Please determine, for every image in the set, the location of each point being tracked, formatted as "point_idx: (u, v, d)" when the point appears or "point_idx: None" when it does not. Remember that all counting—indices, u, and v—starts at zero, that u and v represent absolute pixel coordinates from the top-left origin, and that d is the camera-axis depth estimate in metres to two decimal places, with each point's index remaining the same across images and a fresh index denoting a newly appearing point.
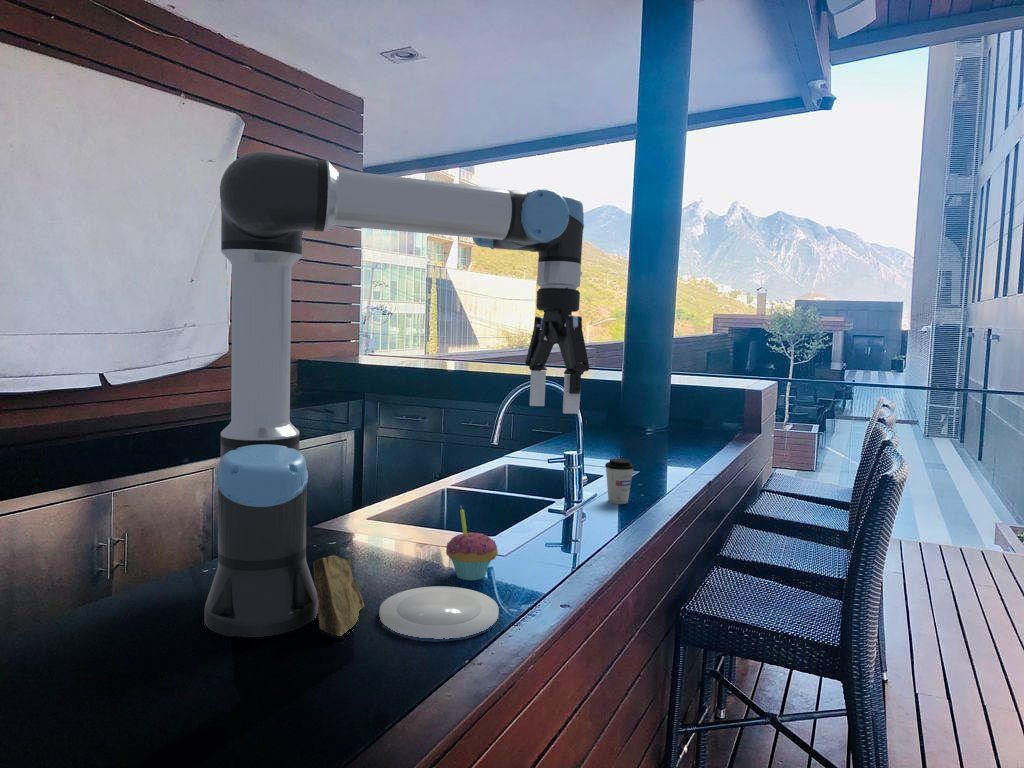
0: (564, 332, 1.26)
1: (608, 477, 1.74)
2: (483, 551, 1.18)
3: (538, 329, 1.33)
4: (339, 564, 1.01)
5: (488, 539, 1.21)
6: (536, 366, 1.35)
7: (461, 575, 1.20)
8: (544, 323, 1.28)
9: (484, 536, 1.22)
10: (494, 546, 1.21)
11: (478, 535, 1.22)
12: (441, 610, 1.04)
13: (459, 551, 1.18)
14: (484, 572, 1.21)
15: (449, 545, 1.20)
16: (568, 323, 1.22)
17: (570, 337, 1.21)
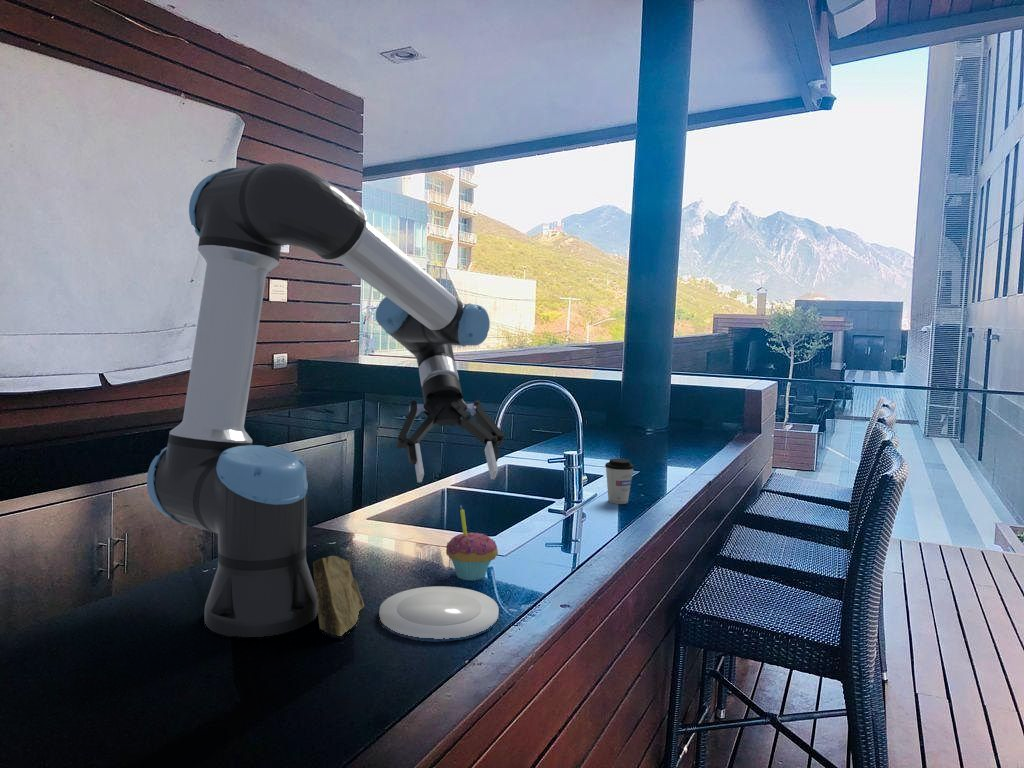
0: None
1: (608, 477, 1.74)
2: (483, 551, 1.18)
3: (416, 411, 1.37)
4: (339, 564, 1.01)
5: (488, 539, 1.21)
6: None
7: (461, 575, 1.20)
8: (442, 403, 1.38)
9: (484, 536, 1.22)
10: (494, 546, 1.21)
11: (478, 535, 1.22)
12: (441, 610, 1.04)
13: (459, 551, 1.18)
14: (484, 572, 1.21)
15: (449, 545, 1.20)
16: (480, 406, 1.41)
17: (487, 415, 1.40)
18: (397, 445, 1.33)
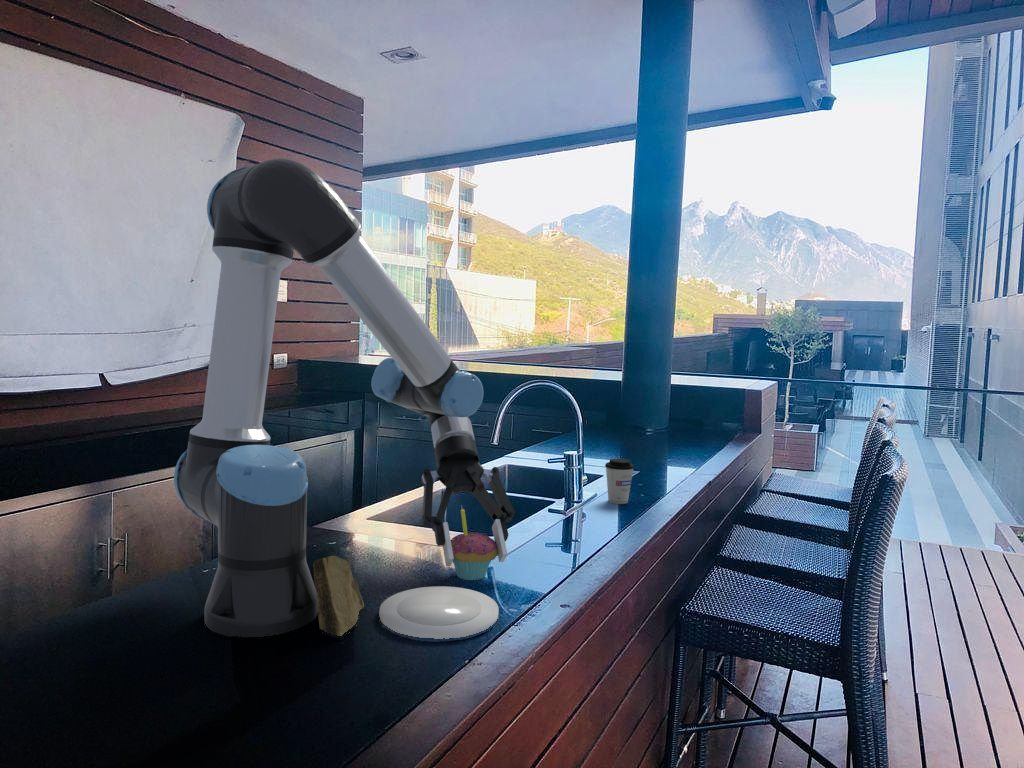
0: None
1: (608, 477, 1.74)
2: (483, 551, 1.18)
3: (432, 481, 1.25)
4: (339, 564, 1.01)
5: (488, 539, 1.21)
6: None
7: (461, 575, 1.20)
8: (457, 468, 1.27)
9: (484, 536, 1.22)
10: (494, 546, 1.21)
11: (478, 535, 1.22)
12: (441, 610, 1.04)
13: (460, 551, 1.18)
14: (484, 572, 1.21)
15: None
16: (497, 474, 1.29)
17: (502, 486, 1.28)
18: (423, 523, 1.21)
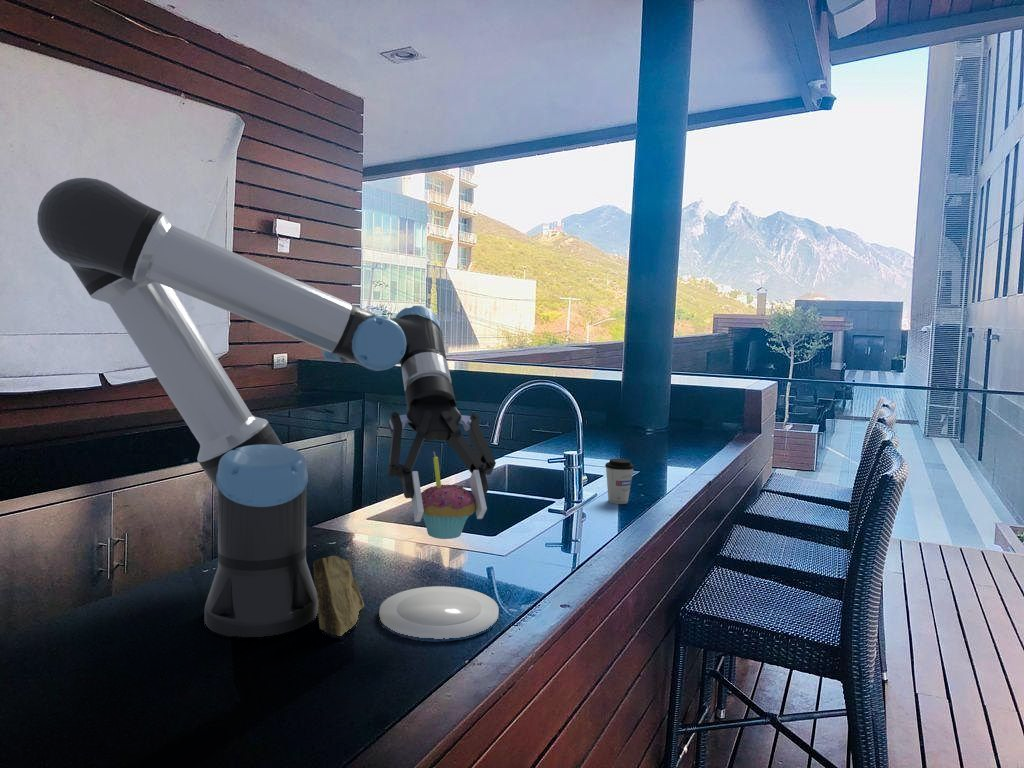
0: None
1: (608, 477, 1.74)
2: (459, 504, 1.01)
3: None
4: (339, 564, 1.01)
5: (465, 492, 1.04)
6: None
7: (433, 532, 1.03)
8: (430, 411, 1.10)
9: (461, 488, 1.05)
10: (472, 500, 1.04)
11: (454, 487, 1.05)
12: (441, 610, 1.04)
13: (431, 504, 1.01)
14: (460, 530, 1.04)
15: None
16: (476, 420, 1.13)
17: (482, 433, 1.11)
18: (389, 472, 1.04)
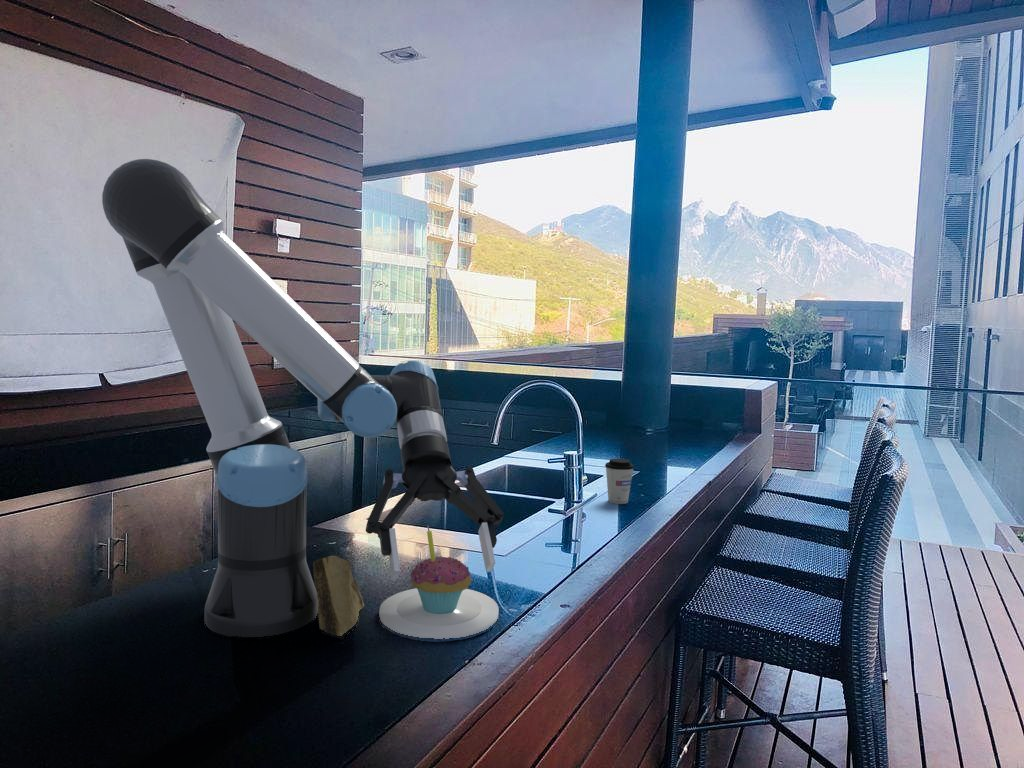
0: None
1: (608, 477, 1.74)
2: (453, 580, 1.01)
3: None
4: (339, 564, 1.01)
5: (460, 565, 1.04)
6: None
7: (427, 607, 1.03)
8: (425, 473, 1.10)
9: (455, 561, 1.05)
10: (467, 573, 1.04)
11: (448, 560, 1.04)
12: None
13: (425, 580, 1.01)
14: (455, 604, 1.04)
15: (414, 572, 1.03)
16: (473, 474, 1.13)
17: (482, 486, 1.12)
18: (366, 529, 1.04)
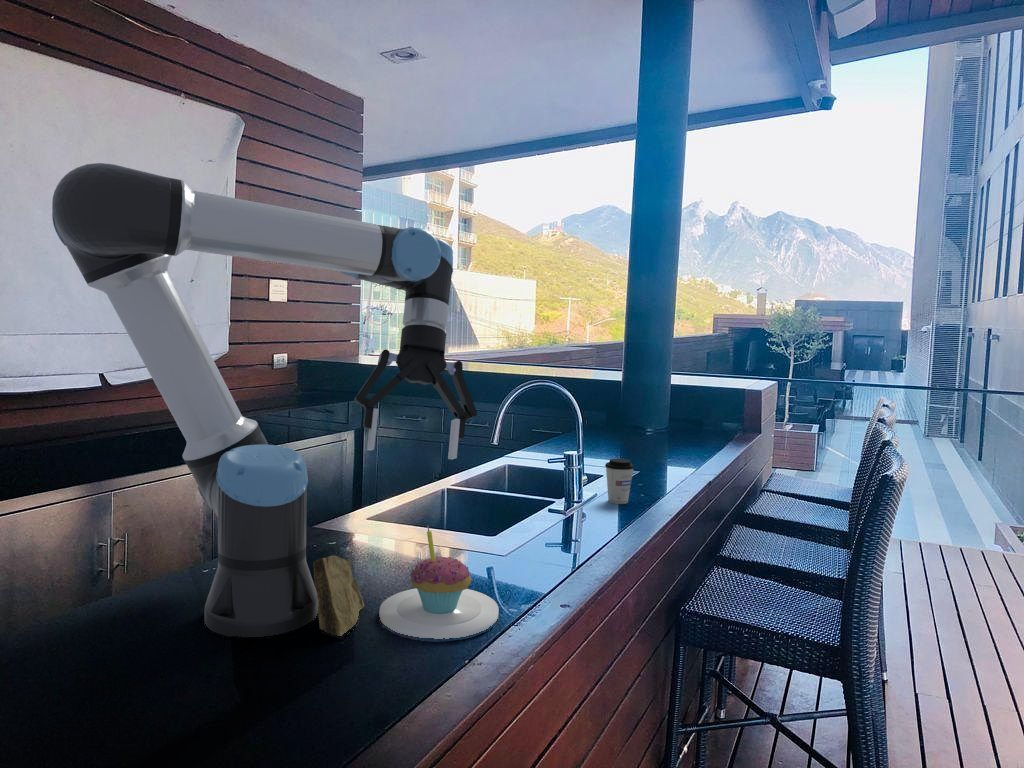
0: None
1: (608, 477, 1.74)
2: (453, 580, 1.01)
3: (386, 364, 1.20)
4: (339, 564, 1.01)
5: (460, 565, 1.04)
6: None
7: (427, 607, 1.03)
8: (418, 361, 1.20)
9: (455, 561, 1.05)
10: (466, 573, 1.04)
11: (448, 560, 1.04)
12: None
13: (425, 580, 1.01)
14: (455, 604, 1.04)
15: (414, 572, 1.03)
16: (460, 369, 1.24)
17: (465, 383, 1.23)
18: (354, 401, 1.18)
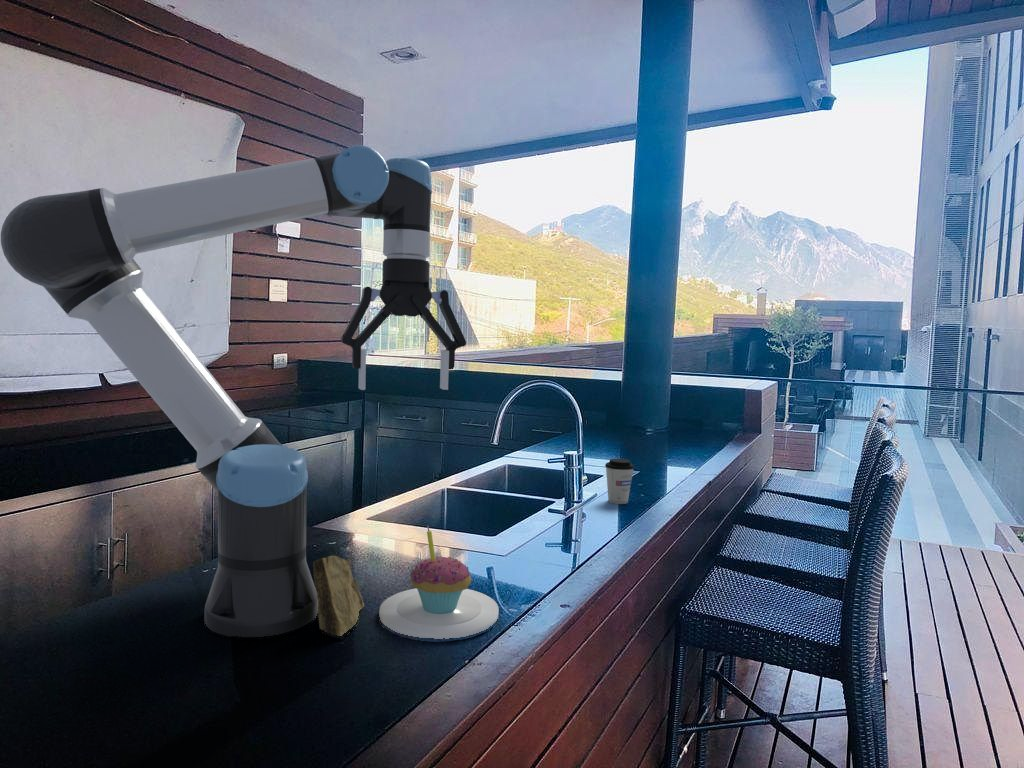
0: None
1: (608, 477, 1.74)
2: (453, 580, 1.01)
3: (369, 301, 1.17)
4: (339, 564, 1.01)
5: (460, 565, 1.04)
6: None
7: (427, 607, 1.03)
8: (402, 296, 1.17)
9: (455, 561, 1.05)
10: (466, 573, 1.04)
11: (448, 560, 1.04)
12: None
13: (425, 580, 1.01)
14: (455, 604, 1.04)
15: (414, 572, 1.03)
16: (446, 299, 1.20)
17: None
18: (341, 341, 1.17)
